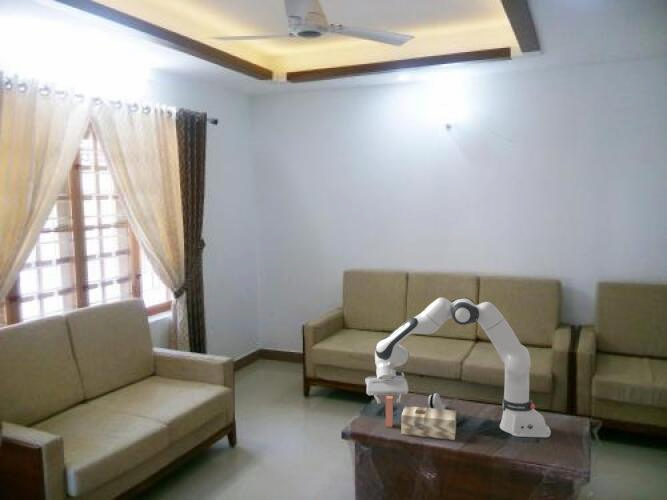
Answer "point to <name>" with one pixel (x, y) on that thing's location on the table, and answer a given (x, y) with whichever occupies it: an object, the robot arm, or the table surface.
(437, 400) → the hinge
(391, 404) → the salmon pink square peg
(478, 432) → the table surface
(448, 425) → the beige wooden block
